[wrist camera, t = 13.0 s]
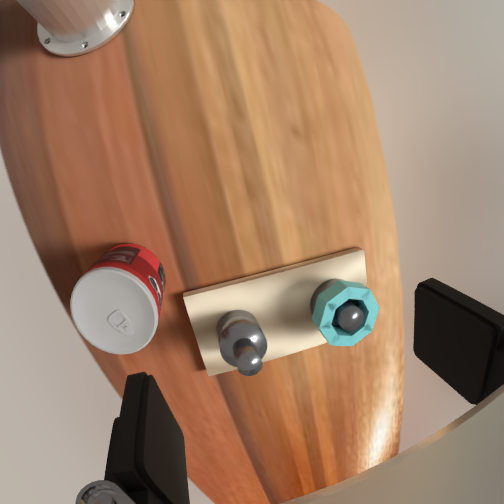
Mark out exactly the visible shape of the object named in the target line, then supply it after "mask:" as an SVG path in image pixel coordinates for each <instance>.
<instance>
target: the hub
mask: <svg viewBox="0 0 504 504" xmlns="http://www.w3.org/2000/svg"><path fill="white" fill-rule="evenodd" d="M338 280H342V279H336V278H335V279H330V280H327V281H325V282H323V283H322V284H321V285H319V286H318V287H317V288H316V290H315V291H314V293H313V295H312V297H311V301H310V310H311V313H312V315H313V312H314V309H315V305H316V301H317V297H318V295H319V294H320V293H322V292H323V291H324V290H326V289H327V288H329V287H330V286H331V285H333V284H334V283H335V282H337V281H338ZM343 281H345V280H343ZM358 307H359V303H358V301H357V299H348V300H347V301H345V302H344V303H343V304H342V305H340V306H339V307H338V308H336V310H335V313H334V317H333V320H332V324H331V325H332V326H333V327H342V328H343V329H344V330H346V331H354V330H356V329H357V328H359V327H360V325H361V324H362V322H363V319H364V314H363V312H362V310H361V309H359V308H358Z"/></svg>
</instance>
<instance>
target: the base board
mask: <svg viewBox="0 0 504 504" xmlns="http://www.w3.org/2000/svg"><path fill="white" fill-rule="evenodd" d="M335 278H336V279H342V280H345V281H351V282H358V283H361V284H363V285H364V286H366V287H367V279H366V268H365V257H364V249H361V248H359V247H356V248H352V249H349V250H345V251H341V252H338V253H334V254H330V255H327V256H323V257H319V258H316V259H312V260H308V261H305V262H301V263H297V264H293V265H290V266H286V267H282V268H278V269H274V270H271V271H267V272H263V273H259V274H255V275H251V276H248V277H244V278H240V279H236V280H232V281H228V282H224V283H220V284H216V285H212V286H208V287H204V288H200V289H196V290H192V291H188V292H184V293H183V299H184V302H185V305H186V309H187V312H188V315H189V318H190V321H191V325H192V328H193V331H194V334H195V337H196V340H197V343H198V346H199V349H200V352H201V355H202V358H203V361H204V364H205V367H206V370H207V373H208V376H212V375H216V374H220V373H224V372H228V371H232V370H236V369H238V368H237V367H234V366H231V365H229V364H228V363H227V362H225V361H224V359H223V358H222V356H221V353H220V348H219V343H218V338H217V332H216V327H217V324H218V321H219V320H220V318H221V317H222V316H223V315H225V314H226V313H228V312H230V311H233V310H245V311H248V312H250V313H251V314H253V315H254V316H255V318H256V319H257V321H258V323H259V325H260V327H261V329H262V331H263V334H264V336H265V338H266V340H267V351H266V354H265V355H264V357H263V358H262V359H261V361H262V362H265V361H269V360H272V359H276V358H279V357H282V356H286V355H289V354H292V353H295V352H299V351H302V350H305V349H308V348H311V347H314V346H317V345H320V344H323V343H326V342H328V341H327V340H326V339H325V338H324V337H323V335H322V334H321V332H320V331H319V329H318V328H317V326H316V325H315V323H314V322H313V320H312V316H313V315H312V313H311V310H310V301H311V297H312V295H313V293H314V291H315V290H316V288H317V287H318V286H319V285H321V284H322V283H323V282H325V281H327V280H330V279H335Z"/></svg>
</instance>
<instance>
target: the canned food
mask: <svg viewBox="0 0 504 504" xmlns="http://www.w3.org/2000/svg"><path fill="white" fill-rule="evenodd" d="M164 289H165V273H164V270H163V267H162V265H161V263H160V261H159V260H158V259H157V257H156V256H155V255H154V254H153V253H152V252H151V251H149V250H148V249H146V248H145V247H142V246H140V245H136V244H120V245H117V246H115V247H113V248H112V249H110V250H109V251H108V252H107V253H105V254H104V255H103V256H102V257H101V258H100V259H99V260H98V261H97V262H96V263H95V264H94V265H93V266H92V267H91V268H90V269H88V270H87V271H86V272H85V273H84V275H83V276H82V277H81V278H80V279H79V280H78V282H77V283H76V285H75V287H74V289H73V291H72V295H71V300H70V309H71V314H72V318H73V321H74V323H75V325H76V327H77V329H78V330H79V332H80V333H81V334H82V335H83V337H84V338H85V339H86V340H87V341H89V342H90V343H91V344H92V345H94V346H95V347H97V348H99V349H101V350H103V351H106V352H109V353H113V354H129V353H133V352H136V351H139V350H140V349H142V348H143V347H145V346H146V345H147V344H148V343H149V342H150V340H151V339H152V337H153V335H154V333H155V331H156V328H157V325H158V320H159V316H160V310H161V305H162V299H163V294H164Z"/></svg>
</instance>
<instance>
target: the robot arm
mask: <svg viewBox="0 0 504 504" xmlns="http://www.w3.org/2000/svg"><path fill="white" fill-rule="evenodd" d="M16 1H17V2H18V3H19V4H20V5H21V6H22V7H23V8H24V9H25V10H26V11H27V12H28V13H29V14H30V15H31V16H32V17H33V18H34V19H35V20H36V21H37V22H38V24H37V34H38V38H39V41H40V43H41V44H42V45H43V46H44V48H46V49H47V50H48V51H49V52H51V53H53V54H55V55H59V56H67V57H72V56H78V55H82V54H86V53H89V52H91V51H93V50H95V49H98V48H100V47H101V46H103V45H104V44H106V43H107V42H109V41H110V40H111V39H112V38H114V37H115V36H116V35H117V34H118V33H119V32H120V31H121V30H122V29H123V27H124V26H125V24H126V23H127V21H128V20H129V18H130V16H131V14H132V11H133V7H134V0H16ZM122 16H123V17H122ZM86 46H87V47H86ZM85 47H86V48H85ZM414 318H415V319H414V346H413V347H414V353H415V355H416V356H417V357H418V358H419V359H420V360H421V361H422V362H423V363H425V364H426V365H427V366H428V367H429V368H430V369H432V370H433V371H434V372H435V373H436V374H437V375H438V376H440V377H441V378H442V379H443V380H444V381H445V382H447V383H448V384H449V385H450V386H451V387H452V388H453V389H454V390H456V391H457V392H458V393H459V394H460V395H461V396H463V397H464V398H465V399H466V400H467V401H468V402H469V403H471V404H475V405H476V406H475V407H474V408H472V409H471V410H469V411H468V412H466V413H465V414H464V415H462V416H461V417H459V418H458V419H456V420H455V421H453V422H452V423H450V424H449V425H447V426H446V427H444V428H442V429H441V430H439V431H438V432H436V433H435V434H433V435H431V436H430V437H428V438H426V439H425V440H423V441H421V442H420V443H418V444H416V445H414V446H413V447H411V448H409V449H407V450H406V451H404V452H402V453H400V454H398V455H396V456H394V457H392V458H390V459H388V460H387V461H385V462H383V463H381V464H378V465H376V466H374V467H372V468H370V469H368V470H366V471H364V472H362V473H359V474H357V475H355V476H353V477H350V478H348V479H346V480H343V481H341V482H338V483H336V484H334V485H331V486H328V487H326V488H323V489H321V490H318V491H315V492H313V493H310V494H307V495H304V496H301V497H298V498H295V499H292V500H289V501H286V502H282V503H279V504H504V315H502V314H501V313H499V312H497V311H495V310H493V309H491V308H490V307H488V306H486V305H484V304H482V303H480V302H478V301H477V300H475V299H473V298H471V297H469V296H467V295H465V294H463V293H461V292H459V291H457V290H456V289H454V288H452V287H450V286H448V285H446V284H444V283H442V282H440V281H438V280H436V279H434V278H430V279H427V280H425V281H423V282H420V283H419V284H418V286H417V288H416V290H415V317H414ZM188 492H189V491H188V481H187V470H186V458H185V444H184V436H183V433H182V430H181V428H180V427H179V425H178V423H177V421H176V419H175V418H174V416H173V414H172V412H171V410H170V408H169V406H168V404H167V403H166V401H165V399H164V397H163V395H162V393H161V391H160V389H159V387H158V385H157V383H156V381H155V379H154V377H153V376H152V375H147V374H146V373H145V372H141V373H136V374H132V375H128V376H127V380H126V385H125V390H124V395H123V401H122V406H121V411H120V417H117V418H115V420H114V423H113V428H112V433H111V439H110V445H109V451H108V457H107V464H106V471H105V478H104V480H98V481H95V482H91V483H90V484H88V485H86V486H85V487H84V488H83V489H81V491H80V492H79V494H78V495H77V498H76V504H190V501H189V493H188Z"/></svg>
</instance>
